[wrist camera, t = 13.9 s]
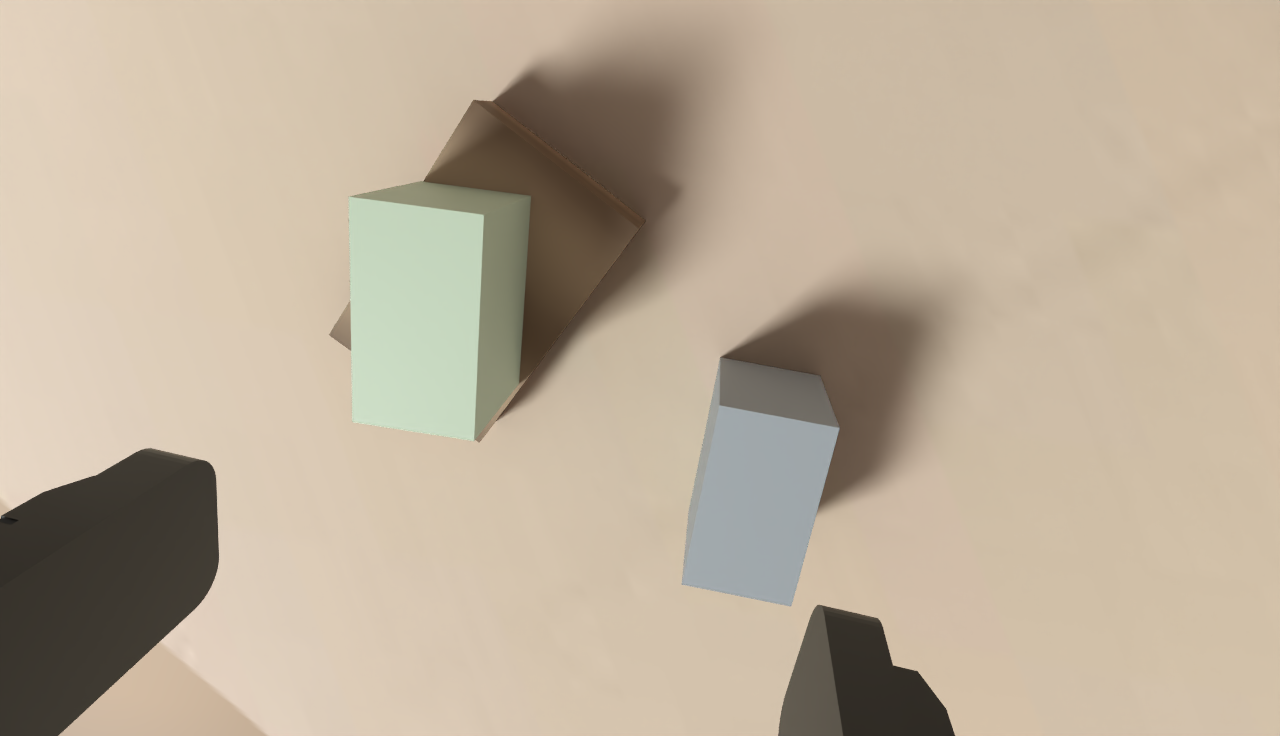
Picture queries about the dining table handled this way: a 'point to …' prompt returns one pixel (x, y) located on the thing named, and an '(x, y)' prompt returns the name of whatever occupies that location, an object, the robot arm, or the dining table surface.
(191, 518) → the robot arm
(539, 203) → the walnut brick
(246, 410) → the dining table surface
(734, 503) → the slate brick
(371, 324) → the sage brick
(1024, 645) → the dining table surface
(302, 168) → the dining table surface
